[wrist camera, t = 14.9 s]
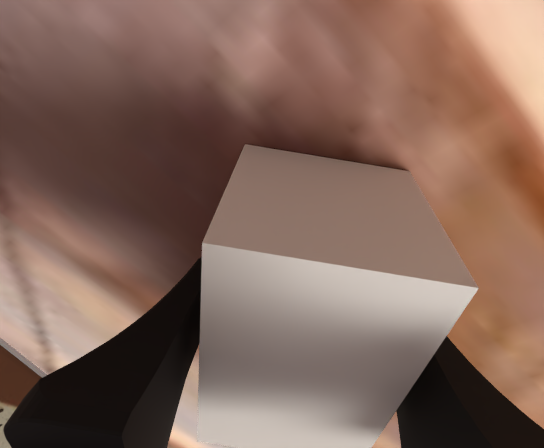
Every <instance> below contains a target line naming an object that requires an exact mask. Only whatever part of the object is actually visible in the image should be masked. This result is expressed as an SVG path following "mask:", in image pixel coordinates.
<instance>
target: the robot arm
mask: <svg viewBox="0 0 544 448" xmlns="http://www.w3.org/2000/svg"><path fill="white" fill-rule="evenodd" d="M201 269H202V257H201V258H199V259H198V260H197V262H196V263H195V264H194V265H193V267H192V268H191V269H190V270H189V271H188V272H187V274H186V275H185V276H184V277H183V278H182V279H181V280H180V281H179V282H178V283H177V284H176V285H175V286H174V287H173V288H172V289H171V291H170V292H169V293H168V294H166V295H165V296H164V297H163V298H162V299H161V300H160V301H159V302H158V303H157V304H156V305H155V306H153V307H152V308H151V309H150V310H149V311H148V312H147V313H145V314H144V315H143V316H142V317H140V318H139V319H138V320H137V321H135V322H134V323H133V324H131V325H130V326H129V327H127V328H126V329H125V330H123V331H122V332H120V333H119V334H118V335H116V336H115V337H113V338H112V339H110V340H109V341H107V342H106V343H104V344H102V345H101V346H99V347H97V348H96V349H94V350H93V351H91V352H89V353H88V354H86V355H84V356H83V357H81V358H79V359H77V360H76V361H74V362H72V363H70V364H68V365H66V366H64V367H62V368H60V369H58V370H56V371H55V372H53V373H51V374H49V375H47V376H45V377H43V378H41V379H39V381H38V382H37V383H36V384H35V385H34V387H33V388H32V389H31V390H30V391H29V392H28V393H27V395H26V396H25V397H24V398H23V400H22V401H21V403H20V404H19V405H18V407H17V408H16V410H15V411H14V412H13V414H12V415H11V417H10V418H9V420H8V421H7V422H6V424H5V425H4V429H3V431H4V435H5V438H6V440H7V441H8V443H9V444H10V446H11V447H12V448H167V445H168V441H169V437H170V433H171V430H172V426H173V422H174V419H175V415H176V411H177V408H178V404H179V401H180V397H181V394H182V390H183V387H184V383H185V380H186V377H187V374H188V371H189V368H190V366H191V363H192V361H193V358H194V355H195V353H196V350H197V348H198V345H199V343H200V308H201ZM396 411H397V417H398V424H399V432H400V440H401V448H544V429H543V428H541V427H540V426H539V425H538V424H536V423H535V422H534V421H533V420H531V419H530V418H529V417H528V416H527V415H525V414H524V413H523V412H522V411H521V410H519V409H518V408H517V407H516V406H515V405H514V404H513V403H511V402H510V401H509V400H508V399H507V398H506V397H505V396H503V395H502V394H501V393H500V392H499V391H498V390H497V389H496V388H495V387H494V386H493V385H492V384H491V383H490V382H489V381H488V380H487V379H486V378H485V377H484V376H483V375H482V374H481V373H480V372H479V371H478V370H477V369H476V368H475V367H474V366H473V365H472V364H471V363H470V362H469V361H468V360H467V359H466V358H465V357H464V355H463V354H462V353H461V352H460V351H459V350H458V349H457V348H456V346H455V345H454V344H453V343H452V342H451V341H450V339H449V338H448V337H447V336H446V337H445V339H444V340H443V342H442V343H441V345H440V346H439V348H438V349H437V351H436V352H435V354H434V355H433V357H432V358H431V360H430V361H429V363H428V364H427V366H426V367H425V369H424V370H423V372H422V373H421V375H420V376H419V378H418V379H417V380H416V382H415V383H414V385H413V386H412V388H411V389H410V391H409V392H408V394H407V395H406V397H405V398H404V400H403V401H402V403H401V404H400V406H399V407H398V409H397V410H396Z"/></svg>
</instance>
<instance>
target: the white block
mask: <svg viewBox="0 0 544 448" xmlns="http://www.w3.org/2000/svg"><path fill="white" fill-rule="evenodd" d="M477 290H478V286H477V284H476V283H475V281H474V279H473V278H472V276H471V274H470V273H469V271H468V269H467V267H466V266H465V264H464V262H463V261H462V259H461V257H460V256H459V254H458V252H457V250H456V249H455V247H454V245H453V244H452V242H451V240H450V239H449V237H448V235H447V234H446V232H445V230H444V228H443V227H442V225H441V223H440V222H439V220H438V218H437V217H436V215H435V213H434V211H433V210H432V208H431V206H430V205H429V203H428V201H427V200H426V198H425V196H424V194H423V193H422V191H421V189H420V188H419V186H418V184H417V183H416V181H415V179H414V177H413V176H412V174H411V172H410V171H405V170H399V169H393V168H387V167H381V166H375V165H369V164H362V163H356V162H350V161H344V160H338V159H332V158H326V157H320V156H314V155H308V154H302V153H296V152H290V151H284V150H277V149H271V148H265V147H259V146H253V145H247V144H245V145H244V147H243V150H242V152H241V154H240V157H239V159H238V161H237V164H236V166H235V168H234V170H233V173H232V175H231V177H230V180H229V182H228V184H227V187H226V189H225V191H224V194H223V196H222V198H221V200H220V203H219V205H218V207H217V210H216V212H215V214H214V217H213V219H212V221H211V224H210V226H209V228H208V230H207V233H206V235H205V237H204V240H203V242H202V269H201V308H200V348H199V387H198V427H197V441H198V442H204V443H210V444H217V445H223V446H229V447H235V448H371V447H372V446H373V444H374V443H375V441H376V440H377V438H378V437H379V435H380V434H381V432H382V431H383V430H384V428H385V427H386V425H387V424H388V422H389V421H390V419H391V418H392V416H393V415H394V413H395V412H396V410H397V409H398V407H399V406H400V404H401V403H402V401H403V400H404V398H405V397H406V395H407V394H408V392H409V391H410V389H411V388H412V386H413V385H414V383H415V382H416V380H417V379H418V378H419V376H420V375H421V373H422V372H423V370H424V369H425V367H426V366H427V364H428V363H429V361H430V360H431V358H432V357H433V355H434V354H435V352H436V351H437V349H438V348H439V346H440V345H441V343H442V342H443V340H444V339H445V337H446V336H447V334H448V333H449V331H450V330H451V329H452V327H453V326H454V324H455V323H456V321H457V320H458V318H459V317H460V315H461V314H462V312H463V311H464V309H465V308H466V306H467V305H468V303H469V302H470V300H471V299H472V297H473V296H474V294H475V293H476V291H477Z"/></svg>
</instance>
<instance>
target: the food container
mask: <svg viewBox="0 0 544 448" xmlns="http://www.w3.org/2000/svg"><path fill="white" fill-rule="evenodd" d="M45 376H47V375H46V374H45V373H44V372H43V371H41V370H40V369H39V368H38V367H36V366H35V365H34V364H33V363H31V362H30V361H29V360H28V359H26V358H25V357H24V356H23V355H21V354H20V353H19V352H18V351H16V350H15V349H14V348H13V347H11V346H10V345H9V344H8V343H6V342H5V341H4V340H2V339H1V338H0V448H12V447H11V446H10V444H9V443H8V441H7V440H6V438H5V435H4V431H3V429H4V425H5V424H6V422H7V421H8V420H9V418H10V417H11V415H12V414H13V412H14V411H15V410H16V408H17V407H18V405H19V404H20V403H21V401H22V400H23V398H24V397H25V396H26V395H27V393H28V392H29V391H30V390H31V389H32V388H33V387H34V385H35V384H36V383H37V382H38V381H39V379H41V378H43V377H45Z"/></svg>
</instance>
